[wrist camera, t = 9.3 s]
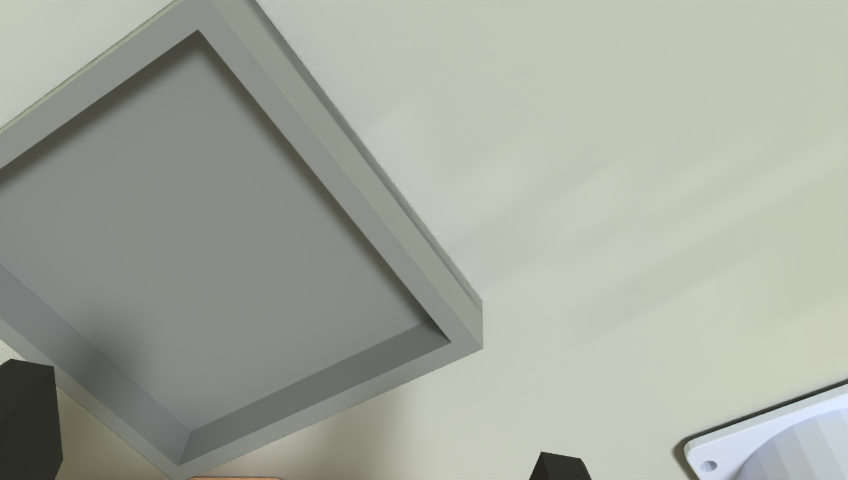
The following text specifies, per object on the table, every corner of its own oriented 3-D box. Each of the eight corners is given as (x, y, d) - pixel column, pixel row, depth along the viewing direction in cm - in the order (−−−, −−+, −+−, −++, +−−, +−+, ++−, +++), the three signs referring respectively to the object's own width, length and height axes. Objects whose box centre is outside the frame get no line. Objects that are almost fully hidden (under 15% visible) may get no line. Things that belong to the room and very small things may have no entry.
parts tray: (481, 300, 22) (483, 348, 20) (195, 434, 25) (176, 484, 24) (226, -39, 17) (199, -13, 15) (-83, 189, 20) (-132, 230, 19)
